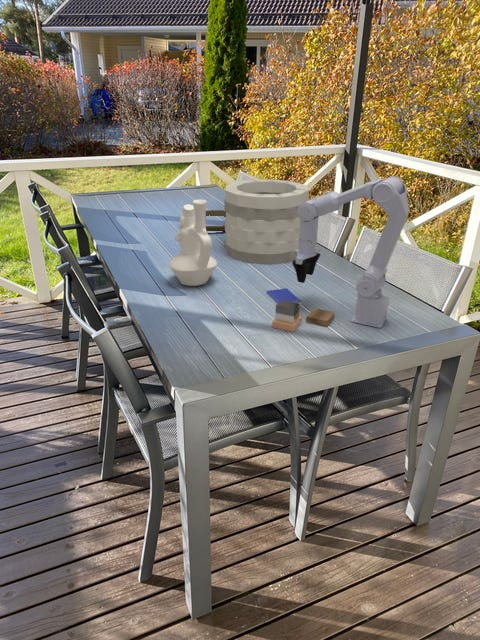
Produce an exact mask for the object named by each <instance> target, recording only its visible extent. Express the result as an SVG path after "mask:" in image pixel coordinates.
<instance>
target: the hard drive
mask: <svg viewBox="0 0 480 640" xmlns="http://www.w3.org/2000/svg"><path fill="white" fill-rule="evenodd" d="M265 293H266V295H267V296H268V297H269V299H271V300H272V301H273V302H274V303H275V304H276V305H277V304H278V303H279V302H280V301H281V300H285V301H289V302H294V303H299V304H300V305H302V304H303V301H302V300H301V299H300V298H298V296H296V295H295V293H293V292H292V291H290V289H288V288H287V287H285V288H278V289H272V290H271V289H270V290H266V292H265Z"/></svg>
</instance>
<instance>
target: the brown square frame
mask: <svg viewBox="0 0 480 640" xmlns="http://www.w3.org/2000/svg"><path fill="white" fill-rule="evenodd" d="M209 215H210V216H224V217H226V211H225V209H223V210H220V209H212V210H211V209H210V210H209V209H208V210H207V209H206V216H209ZM206 231H225V225H223V226H206Z"/></svg>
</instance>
